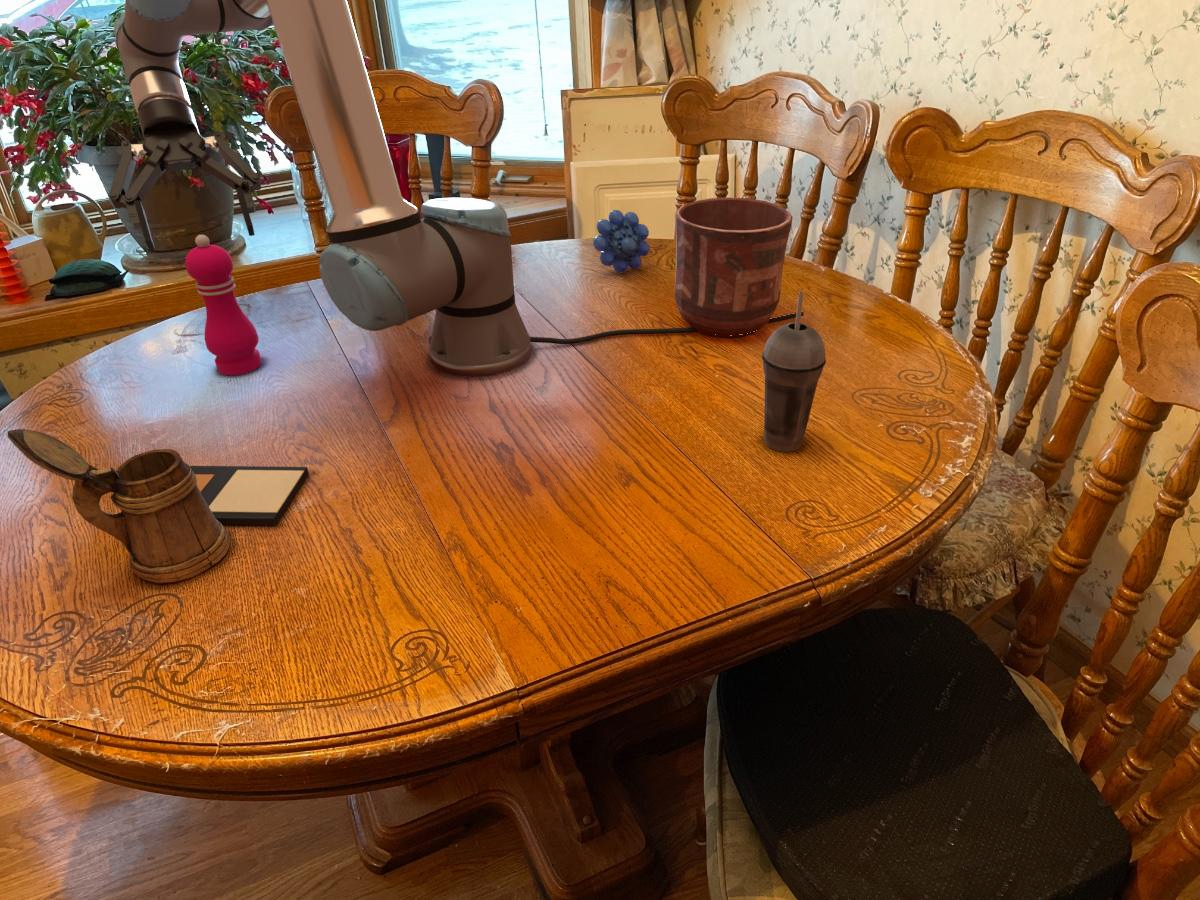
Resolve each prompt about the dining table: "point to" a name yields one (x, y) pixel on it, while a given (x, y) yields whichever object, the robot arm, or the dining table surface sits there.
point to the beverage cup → (790, 381)
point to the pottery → (729, 264)
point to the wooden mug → (139, 506)
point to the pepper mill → (223, 310)
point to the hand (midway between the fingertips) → (202, 238)
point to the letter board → (248, 492)
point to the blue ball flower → (621, 241)
